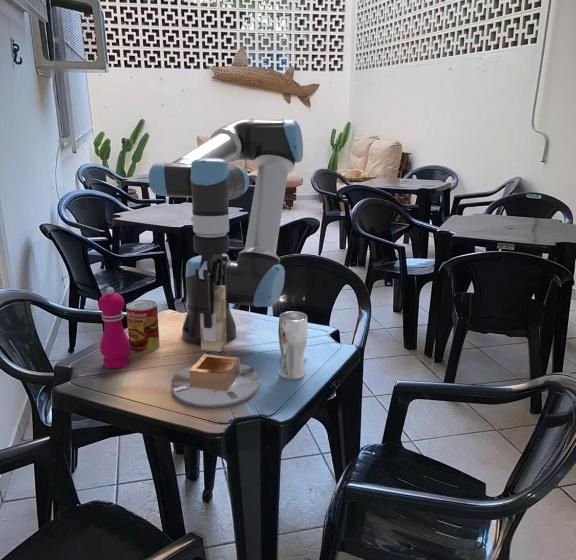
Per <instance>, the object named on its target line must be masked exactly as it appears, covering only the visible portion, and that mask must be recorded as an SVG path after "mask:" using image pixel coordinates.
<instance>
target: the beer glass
mask: <svg viewBox="0 0 576 560" xmlns="http://www.w3.org/2000/svg"><path fill="white" fill-rule="evenodd" d="M278 318H279V319H278V320H279V321H278V333H277V335H278V338H277V339H278V345H279V351H280V356H281V358H280V359H281V364H280V369H279V375H280V377H282V378H283V379H284V380H285V379H286V380H289V381H290V380H292V381H293V380H294V381H295V380H299V379H301V378H303V377H305V375H306V374H305V373H306V371H305V366H304V365H305V364H304V359H305V352H306V347H307V343H308V334H309V333H308V331H309V330H308V327H309V326H308V325H309V324H308V315H307V314H306V313H304V312H301V311H285V312H282V313H280V314H279V316H278Z"/></svg>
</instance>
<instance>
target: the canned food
mask: <svg viewBox="0 0 576 560" xmlns="http://www.w3.org/2000/svg"><path fill="white" fill-rule="evenodd" d="M125 305H126V307H125V309H126V319H127V323H126V324H127V332H128V333H127V334H128V339H129V341H130V351H131V352H132V353H133V352H134V353H136V352H137V354H138V353H139V354H145V353H151V352H155V351H156V350H157V349H159V348H160V345H161V344H160V332H159V331H160V330H159V329H160V327H159V316H158V315H159V314H158V303H157V302H156V301H154V300H150V299H139V300H134V301H132V302H129V303H126V304H125Z"/></svg>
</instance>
